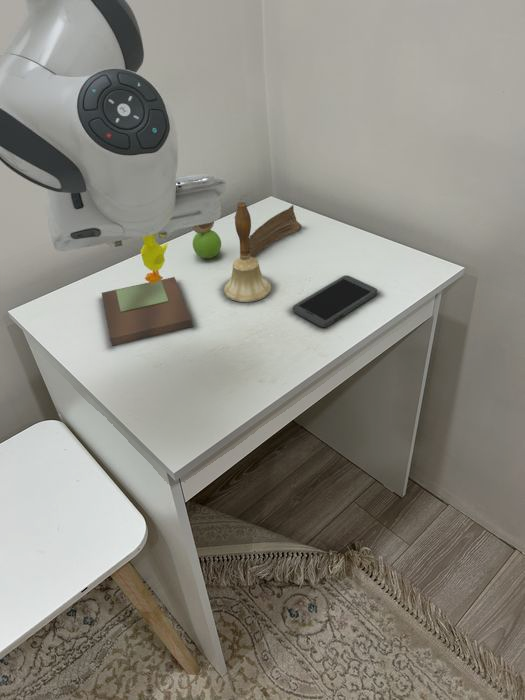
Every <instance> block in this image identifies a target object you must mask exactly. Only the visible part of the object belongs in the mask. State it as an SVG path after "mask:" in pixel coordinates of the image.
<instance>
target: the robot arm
mask: <svg viewBox="0 0 525 700" xmlns="http://www.w3.org/2000/svg"><path fill="white" fill-rule="evenodd" d="M24 1H25V4H26V10H27V12H26V16H25V18H24V19H23V21H22V22H21V24H20V26H19V27H18V29H17V30H16V32H15V33H14V34H13V37H12V38H11V39H10V41H9V43H8V44H7V45H6V47H5V49H4V50H3V52H2V53H1V55H0V162H1V163H3V165H5V166H6V167H7V168H8V169H10V170H11V171H12V172H14V173H16V174H17V175H18V176H20V177H21V178H24V179H25V180H27V181H28V182H30V183H33V184H34V185H35V186H39V187H41V188H44V189H46V194H47V196H46V197H47V199H46V201H45V209H44V210H45V215H46V219H47V224H48V229H49V233H50V236H51V237H50V238H51V240H52V244H53V247H54V249H55V250H56V251H58V252H69V251H74V250H79V249H84V248H89V247H94V246H100V245H104V244H105V245H110V248H118V247H122V246H123V241H124V240H129V239H134V238H142V237H145V236H149V235H152V234H154V235H156V234H158V237H159V239H162V238H169V237H171V235H172V233H173V232H174V231H177V230H180V229H185V228H192V227H191V226H196V225H201V224H206V223H211V222H214V223H215V222H216V221H218V220H219V219H221V215H222V206H221V200H220V196H222V195H223V194H224V193H225V190H226V188H227V187H226V186H227V183H226V180H225V179H224V178H215V177H214V176H211V175H210V174H208V173H199V174H191V175H187V176H179V177H177V171H178V164H179V147H178V134H177V128H176V123H175V119H174V116H173V114H172V111H171V110H170V107H169V105H168V103H167V101H166V99H165V98H164V96H163V95H162V93H161V91H159V89H158V88H157V87H156V86H155V85H154V84H153V83H152V82H151V81H150V80H149V79H147V78H146V77H145V76H143V75H141V74H140V73H137V72H138V71H139V70H140V68H141V67H142V65H143V63H144V58H145V49H144V44H143V38H142V34H141V30H140V27H139V23H138V20H137V18H136V15H135V14H134V11H133V9H132V7H131V6H130V4H129V3H128V2H127V0H24Z"/></svg>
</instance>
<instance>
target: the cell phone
mask: <svg viewBox="0 0 525 700" xmlns="http://www.w3.org/2000/svg"><path fill="white" fill-rule="evenodd" d="M378 292H379V291H378V289H377V288H375V287H374V286H372V285H370V284H368V283H366V282H364V281H362V280H359V279H357V278H355V277H353V276H350V275H343V276H341V277H339V278H338V279H336V280H334V281H333V282H331V283H329V284H328V285H325V286H324V287H323V288H320V289H319V290H317V291H316V292H314V293H313V294H311V295H309V296H307V297H306V298H304V299H302V300H300V301H298V302H297V303H296V304H294V305H293V306H292V312H294V313H295V314H297V315H298V316H300V317H302V318H304V319H306V320H308V321H309V322H311V323H313V324H314V325H317V326H318V327H320V328H326V327H329V326H330V325H332V324H333V323H335V322H336V321H338V320H339V319H341V318H342V317H344V316H346V315H347V314H349V313H350V312H352V311H354V310H355V309H357V308H358V307H359V306H361V305H363V304H364V303H366V302H367V301H369V300H370V299H372V298H373V297H375V296H376V295H377V294H378Z"/></svg>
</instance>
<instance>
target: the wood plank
mask: <svg viewBox="0 0 525 700" xmlns="http://www.w3.org/2000/svg"><path fill="white" fill-rule="evenodd" d="M294 208H295V207H294V204H292V205H291V206H290V207H288V208H287V209H284V210H283V211H281V212H279V213H277V214H276V215H274V216H272V217H271V218H269V219H268V220H267V221H265V222H264V223H263V224H262V225H260V226H259V227H257V229H255V230H254V232H253V233H252V234H250V235H249V248H250V257H253V258H254V257H255V256H256V255H258V254H259V253H260V252H261V251H263V250H264V249H266V248H267V247H269V246H270V245H271V244H273V243H275V242H277V241H279V240H282V239H283V238H284V237H286V236H289V235H291V234H294V233H295V232H298V231H300V230H301V229H302V225H301V223H300V222H299V221H298V220H297V217H296V214H295V211H294Z"/></svg>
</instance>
